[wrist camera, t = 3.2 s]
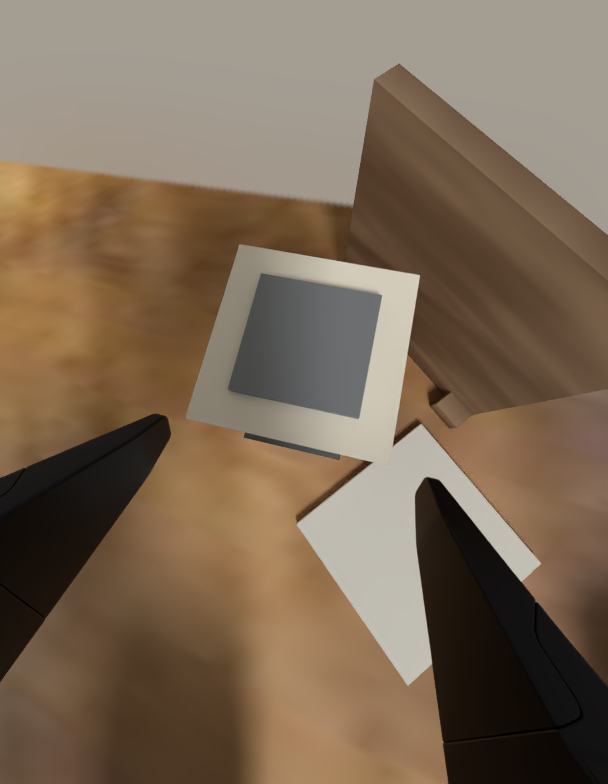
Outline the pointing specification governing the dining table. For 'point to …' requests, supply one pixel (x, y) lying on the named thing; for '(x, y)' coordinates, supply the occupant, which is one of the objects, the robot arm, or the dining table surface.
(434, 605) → the robot arm
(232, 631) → the dining table surface
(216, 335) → the cream block grey panels
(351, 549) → the felt pad
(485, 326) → the walnut screen
